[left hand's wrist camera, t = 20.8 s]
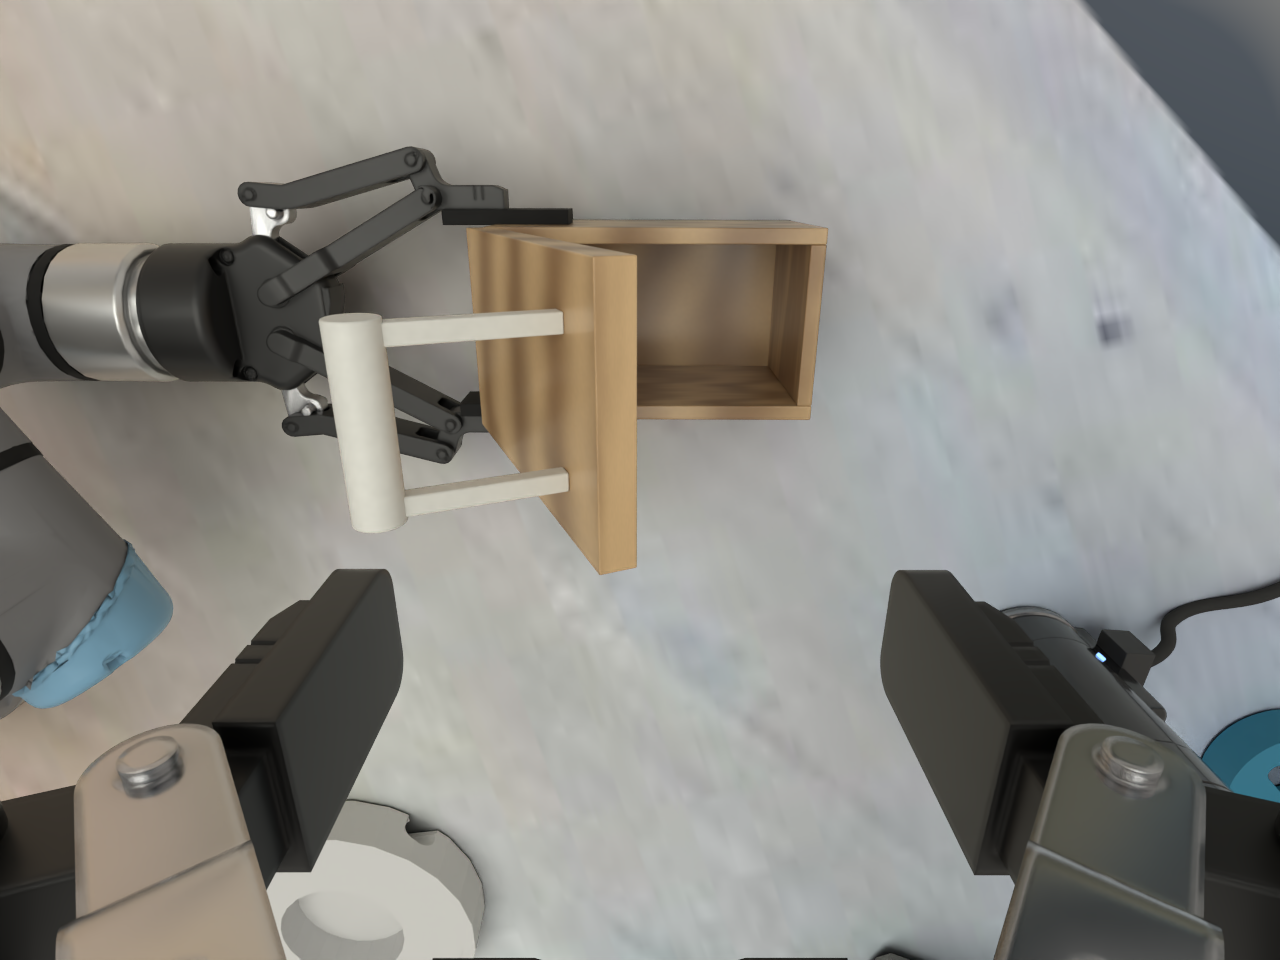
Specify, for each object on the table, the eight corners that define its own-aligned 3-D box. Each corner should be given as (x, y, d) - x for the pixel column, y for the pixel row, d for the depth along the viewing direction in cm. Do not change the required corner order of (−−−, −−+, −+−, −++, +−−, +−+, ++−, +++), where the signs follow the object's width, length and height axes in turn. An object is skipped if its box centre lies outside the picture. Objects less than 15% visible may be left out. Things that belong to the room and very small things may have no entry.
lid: (637, 255, 20) (309, 265, 16) (637, 567, 23) (367, 624, 20) (493, 227, 34) (305, 230, 31) (506, 421, 38) (339, 441, 35)
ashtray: (508, 968, 69) (501, 1013, 66) (277, 991, 70) (257, 1036, 67) (451, 786, 61) (439, 824, 57) (189, 815, 62) (160, 855, 58)
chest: (788, 220, 44) (828, 227, 35) (776, 374, 48) (810, 420, 38) (516, 219, 44) (482, 226, 35) (525, 373, 48) (497, 419, 38)
